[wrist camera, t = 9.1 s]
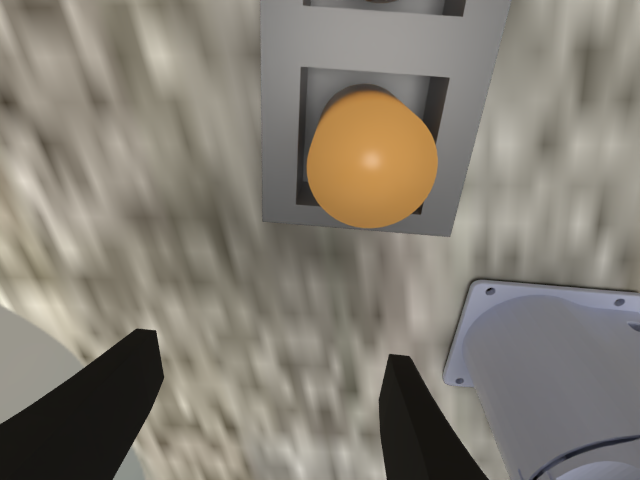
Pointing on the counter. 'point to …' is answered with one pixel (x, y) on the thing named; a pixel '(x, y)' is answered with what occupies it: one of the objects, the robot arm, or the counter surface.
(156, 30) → the counter surface
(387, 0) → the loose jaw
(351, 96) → the housing
